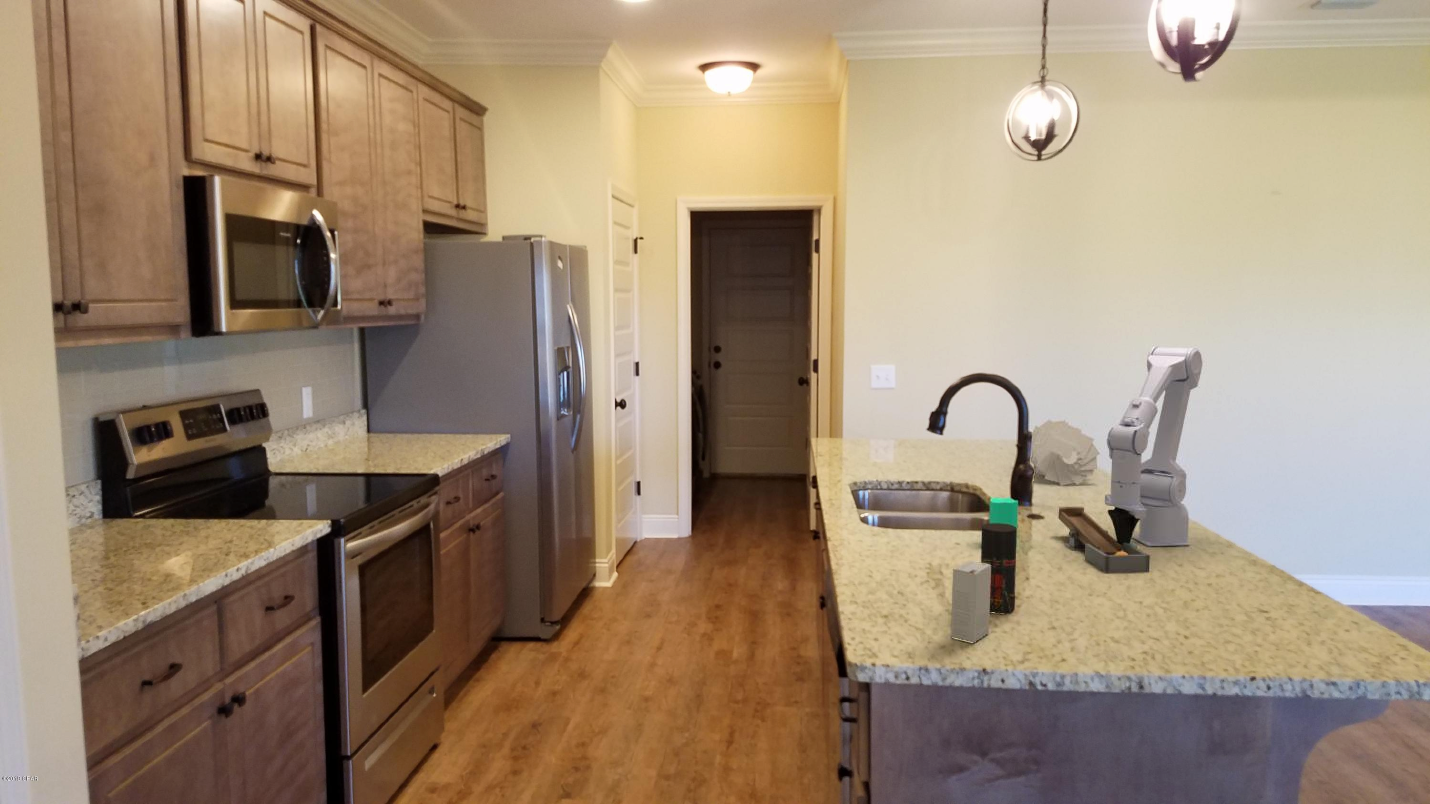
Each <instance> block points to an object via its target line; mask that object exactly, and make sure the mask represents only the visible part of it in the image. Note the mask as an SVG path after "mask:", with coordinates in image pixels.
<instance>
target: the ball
mask: <svg viewBox="0 0 1430 804" xmlns="http://www.w3.org/2000/svg"><path fill="white" fill-rule="evenodd" d="M1115 555H1128V554H1127V553H1126V552H1123V550H1122V551H1120V552H1117V553H1116V554H1115Z"/></svg>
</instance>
